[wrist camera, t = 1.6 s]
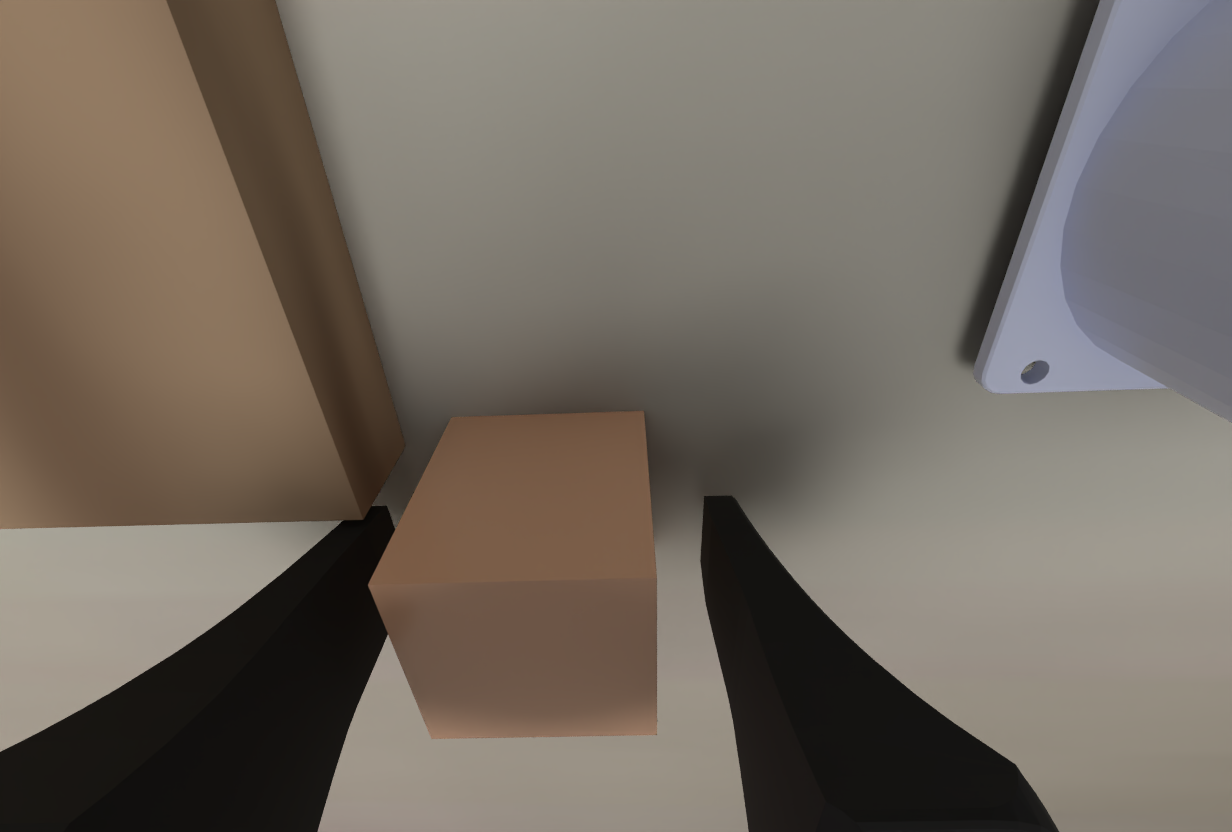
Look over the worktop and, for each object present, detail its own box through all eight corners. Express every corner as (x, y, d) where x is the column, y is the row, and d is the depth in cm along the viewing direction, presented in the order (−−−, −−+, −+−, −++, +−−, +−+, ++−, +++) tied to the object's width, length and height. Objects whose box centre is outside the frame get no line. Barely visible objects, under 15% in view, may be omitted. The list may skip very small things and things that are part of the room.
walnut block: (279, -29, 9) (138, -75, 6) (411, 436, 13) (363, 519, 11) (-265, -5, 9) (-621, -38, 6) (56, 446, 14) (-72, 530, 11)
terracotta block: (643, 409, 13) (656, 577, 8) (646, 548, 15) (656, 734, 11) (452, 416, 13) (367, 584, 8) (484, 553, 15) (431, 738, 11)
